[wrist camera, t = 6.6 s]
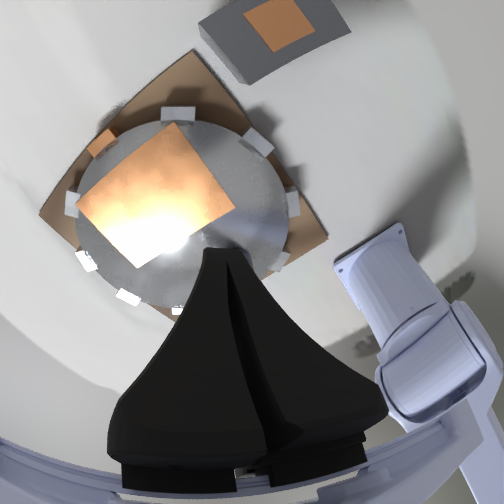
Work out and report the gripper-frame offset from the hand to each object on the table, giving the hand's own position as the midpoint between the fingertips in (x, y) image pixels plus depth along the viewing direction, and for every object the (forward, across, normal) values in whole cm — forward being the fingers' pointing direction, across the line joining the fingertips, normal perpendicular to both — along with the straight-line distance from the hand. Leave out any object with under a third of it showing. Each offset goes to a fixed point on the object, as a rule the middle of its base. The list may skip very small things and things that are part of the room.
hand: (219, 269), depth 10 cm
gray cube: (+10, -1, -10) cm, 14 cm away
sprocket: (+10, +2, +4) cm, 11 cm away
